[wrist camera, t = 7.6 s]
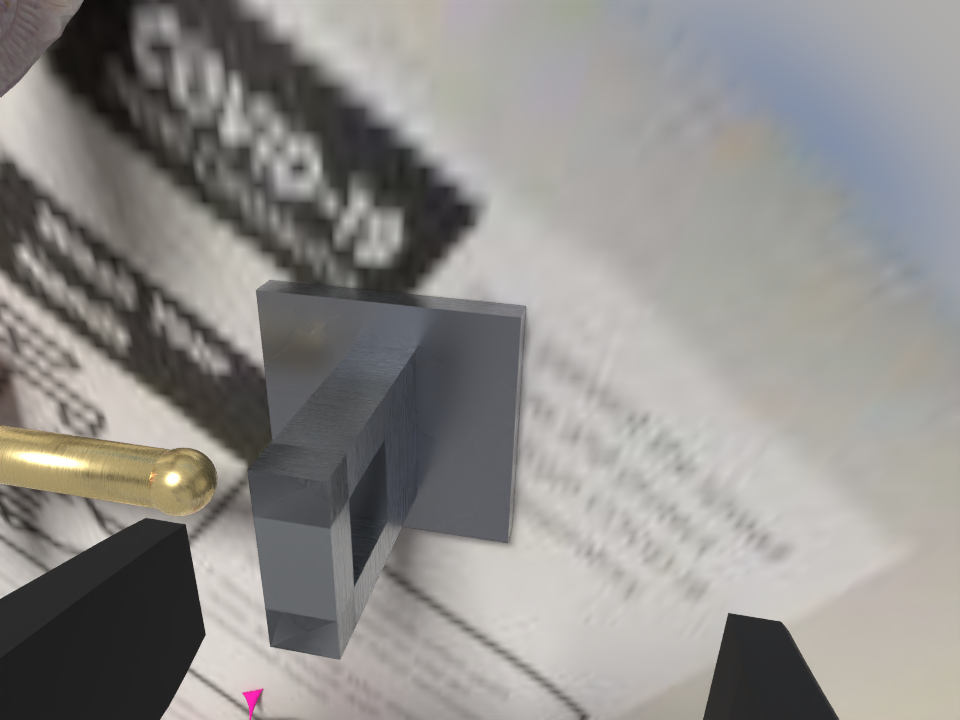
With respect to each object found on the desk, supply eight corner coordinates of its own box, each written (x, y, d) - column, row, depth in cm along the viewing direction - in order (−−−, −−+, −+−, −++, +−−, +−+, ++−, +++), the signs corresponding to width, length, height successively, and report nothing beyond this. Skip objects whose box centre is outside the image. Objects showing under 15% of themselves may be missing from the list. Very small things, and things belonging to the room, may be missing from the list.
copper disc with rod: (264, 300, 19) (86, 437, 13) (287, 515, 22) (150, 708, 16) (-110, 260, 21) (-420, 364, 15) (-43, 463, 24) (-277, 618, 18)
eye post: (525, 305, 19) (470, 446, 13) (512, 525, 22) (462, 722, 16) (269, 279, 20) (107, 397, 14) (291, 492, 23) (165, 664, 17)
